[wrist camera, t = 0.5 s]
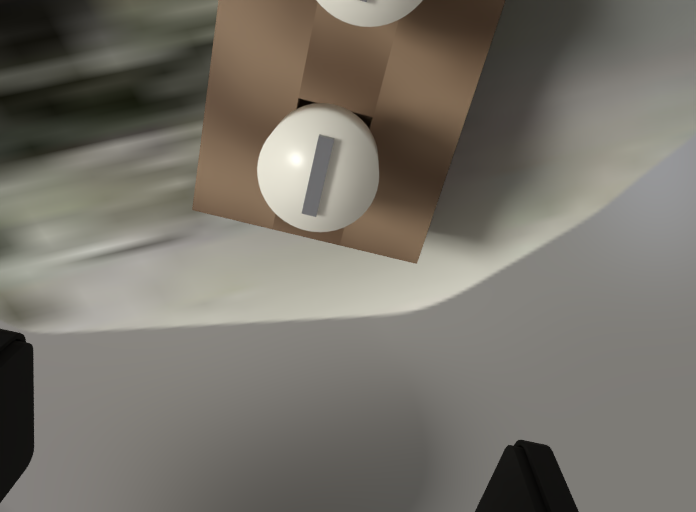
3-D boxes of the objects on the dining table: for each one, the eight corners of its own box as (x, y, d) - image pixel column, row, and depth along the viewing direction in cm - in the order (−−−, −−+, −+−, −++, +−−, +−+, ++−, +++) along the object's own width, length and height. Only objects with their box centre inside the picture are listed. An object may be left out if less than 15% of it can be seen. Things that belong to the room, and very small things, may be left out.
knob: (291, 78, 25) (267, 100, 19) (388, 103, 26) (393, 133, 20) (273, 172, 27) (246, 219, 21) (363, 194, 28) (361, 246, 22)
